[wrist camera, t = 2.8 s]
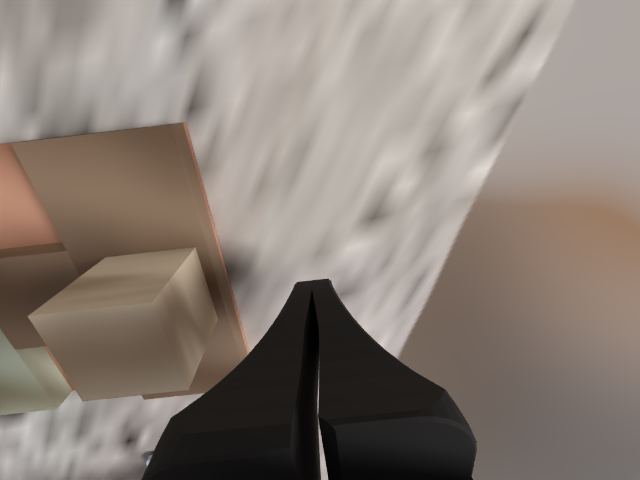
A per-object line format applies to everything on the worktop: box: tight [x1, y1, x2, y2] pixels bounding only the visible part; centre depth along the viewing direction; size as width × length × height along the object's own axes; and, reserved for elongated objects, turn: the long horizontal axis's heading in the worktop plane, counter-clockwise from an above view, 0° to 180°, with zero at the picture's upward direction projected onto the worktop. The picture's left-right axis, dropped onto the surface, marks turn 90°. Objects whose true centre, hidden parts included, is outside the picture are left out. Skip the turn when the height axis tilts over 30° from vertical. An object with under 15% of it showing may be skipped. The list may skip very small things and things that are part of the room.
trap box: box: [0, 123, 249, 415], centre depth 13 cm, size 14×15×4 cm
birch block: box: [28, 247, 218, 401], centre depth 12 cm, size 4×4×4 cm
